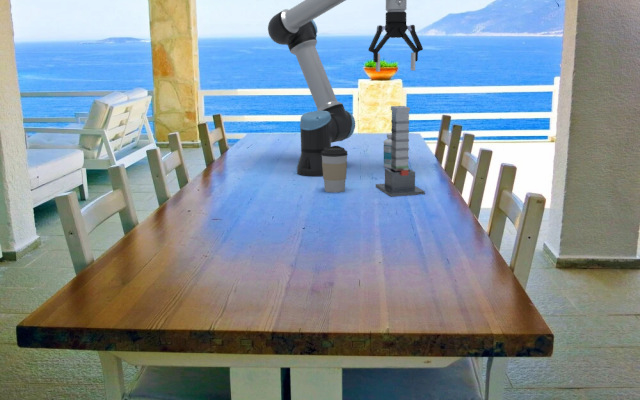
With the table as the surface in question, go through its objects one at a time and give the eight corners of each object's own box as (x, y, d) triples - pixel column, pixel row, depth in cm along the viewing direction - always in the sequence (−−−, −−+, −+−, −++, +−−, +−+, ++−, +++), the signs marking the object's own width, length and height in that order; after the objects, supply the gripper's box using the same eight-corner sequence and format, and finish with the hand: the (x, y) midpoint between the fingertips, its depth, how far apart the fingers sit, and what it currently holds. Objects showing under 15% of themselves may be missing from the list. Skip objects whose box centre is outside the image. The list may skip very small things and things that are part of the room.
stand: (390, 196, 225) (390, 173, 224) (375, 186, 241) (375, 164, 239) (424, 194, 228) (425, 171, 226) (408, 184, 243) (408, 163, 241)
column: (396, 171, 229) (397, 108, 224) (390, 168, 235) (390, 106, 230) (409, 171, 230) (409, 107, 225) (402, 167, 236) (403, 105, 231)
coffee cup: (345, 193, 231) (345, 149, 228) (319, 192, 233) (318, 149, 230) (349, 187, 240) (349, 145, 236) (324, 187, 242) (323, 144, 238)
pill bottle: (402, 165, 280) (402, 132, 277) (402, 168, 273) (402, 134, 270) (383, 165, 281) (383, 132, 278) (383, 168, 274) (383, 135, 270)
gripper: (366, 11, 243) (366, 72, 248) (432, 10, 248) (431, 70, 253) (360, 12, 250) (360, 71, 255) (424, 11, 255) (423, 69, 260)
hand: (395, 71), depth 254 cm, fingers open, 13 cm apart
